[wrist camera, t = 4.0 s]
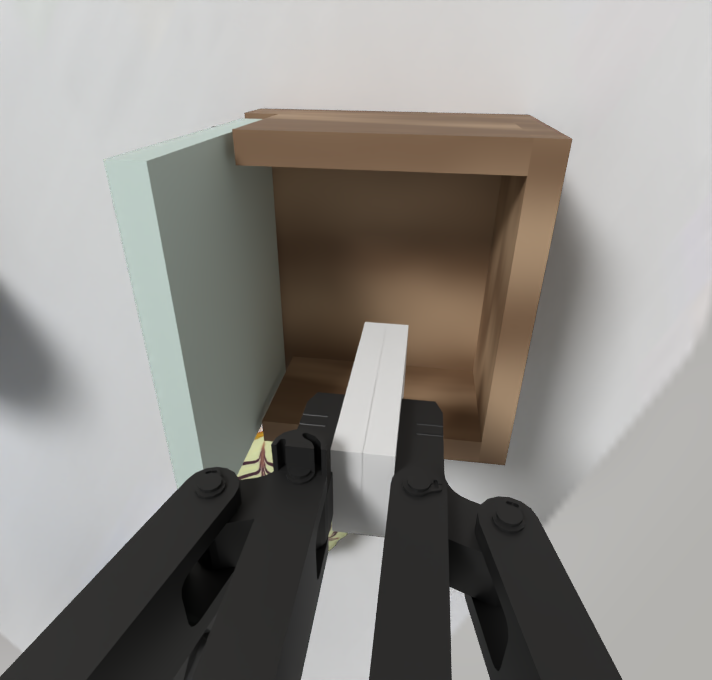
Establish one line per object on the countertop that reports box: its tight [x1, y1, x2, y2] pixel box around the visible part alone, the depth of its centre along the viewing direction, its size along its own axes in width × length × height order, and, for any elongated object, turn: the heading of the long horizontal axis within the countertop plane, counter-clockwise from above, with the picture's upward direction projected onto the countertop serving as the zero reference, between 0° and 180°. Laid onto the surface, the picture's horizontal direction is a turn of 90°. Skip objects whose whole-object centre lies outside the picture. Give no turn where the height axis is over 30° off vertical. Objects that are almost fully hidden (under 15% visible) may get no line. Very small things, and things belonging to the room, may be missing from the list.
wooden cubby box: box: [232, 109, 572, 465], centre depth 24 cm, size 14×13×8 cm
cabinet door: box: [103, 119, 286, 489], centre depth 21 cm, size 2×14×11 cm, turn 179°
